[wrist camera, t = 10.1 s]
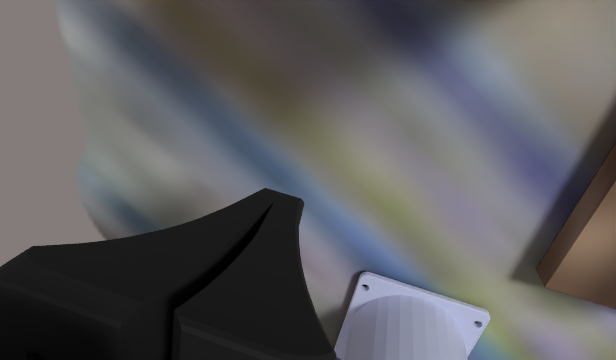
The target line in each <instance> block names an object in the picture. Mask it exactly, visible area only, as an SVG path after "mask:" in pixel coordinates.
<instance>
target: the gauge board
mask: <svg viewBox="0 0 616 360" xmlns="http://www.w3.org/2000/svg"><path fill="white" fill-rule="evenodd" d="M536 270H537V272H538V274H539V276H540V278H541V280H542V282H543V284H544V286H545V287H546V288H549V289H552V290H556V291H559V292H562V293H565V294H569V295H572V296H575V297H579V298H582V299H585V300H588V301H592V302H595V303H598V304H601V305H605V306H608V307H611V308H614V309H616V144H615V145H614V147H613V148H612V150H611V151H610V153H609V155H608V156H607V158H606V159H605V161H604V163H603V164H602V166H601V167H600V169H599V170H598V172H597V174H596V175H595V177H594V178H593V180H592V182H591V183H590V185H589V186H588V188H587V189H586V191H585V193H584V194H583V196H582V197H581V199H580V201H579V202H578V204H577V205H576V207H575V208H574V210H573V212H572V213H571V215H570V216H569V218H568V220H567V221H566V223H565V224H564V226H563V227H562V229H561V231H560V232H559V234H558V235H557V237H556V238H555V240H554V242H553V243H552V245H551V246H550V248H549V250H548V251H547V253H546V254H545V256H544V257H543V259H542V261H541V262H540V264H539V265H538V267H537V269H536Z"/></svg>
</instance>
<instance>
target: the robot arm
mask: <svg viewBox="0 0 616 360" xmlns="http://www.w3.org/2000/svg"><path fill="white" fill-rule="evenodd" d="M303 207H304V202H303V200H302V199H300V198H297V197H294V196H290V195H287V194H284V193H280V192H277V191H274V190H270V189H267V188H264V189H262V190H260V191H258V192H256V193H254V194H252V195H250V196H248V197H246V198H244V199H242V200H240V201H238V202H236V203H234V204H232V205H230V206H228V207H225V208H223V209H221V210H218V211H216V212H213V213H211V214H209V215H206V216H204V217H201V218H199V219H196V220H193V221H190V222H187V223H184V224H181V225H178V226H174V227H171V228H167V229H164V230H159V231H155V232H150V233H145V234H141V235H136V236H132V237H126V238H120V239H113V240H106V241H98V242H89V243H79V244H63V245H47V246H33V247H31V248H29V249H27V250H26V251H24V252H22V253H21V254H20V255H18V256H16V257H15V258H13V259H12V260H10V261H9V262H7V263H6V264H4V265H2V266H1V267H0V360H468V359H467V357H468V355H469V354H470V352H471V350H472V349H473V347H474V345H475V344H476V342H477V341H478V339H479V337H480V336H481V334H482V332H483V331H484V329H485V327H486V326H487V324H488V322H489V321H490V316H489V312H488V311H487V310H486V309H484V308H480V307H477V306H474V305H471V304H468V303H465V302H462V301H458V300H455V299H452V298H449V297H446V296H443V295H440V294H436V293H433V292H430V291H427V290H424V289H421V288H418V287H415V286H411V285H408V284H405V283H402V282H399V281H396V280H393V279H389V278H386V277H383V276H380V275H377V274H374V273H371V272H363V273H361V275H360V277H359V279H358V282H357V285H356V288H355V291H354V294H353V296H352V299H351V302H350V305H349V308H348V311H347V314H346V316H345V319H344V322H343V325H342V328H341V331H340V333H339V336H338V339H337V342H336V345H335V348H334V349H333V347H332V345H331V343H330V342H329V340H328V338H327V336H326V334H325V332H324V330H323V328H322V325H321V323H320V321H319V319H318V316H317V314H316V312H315V309H314V306H313V303H312V300H311V298H310V295H309V292H308V289H307V285H306V281H305V278H304V273H303V268H302V263H301V257H300V248H299V224H300V220H301V215H302V211H303ZM363 284H365V285H368V287H364V286H362V285H363ZM475 321H480V322H479V323H475Z"/></svg>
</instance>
